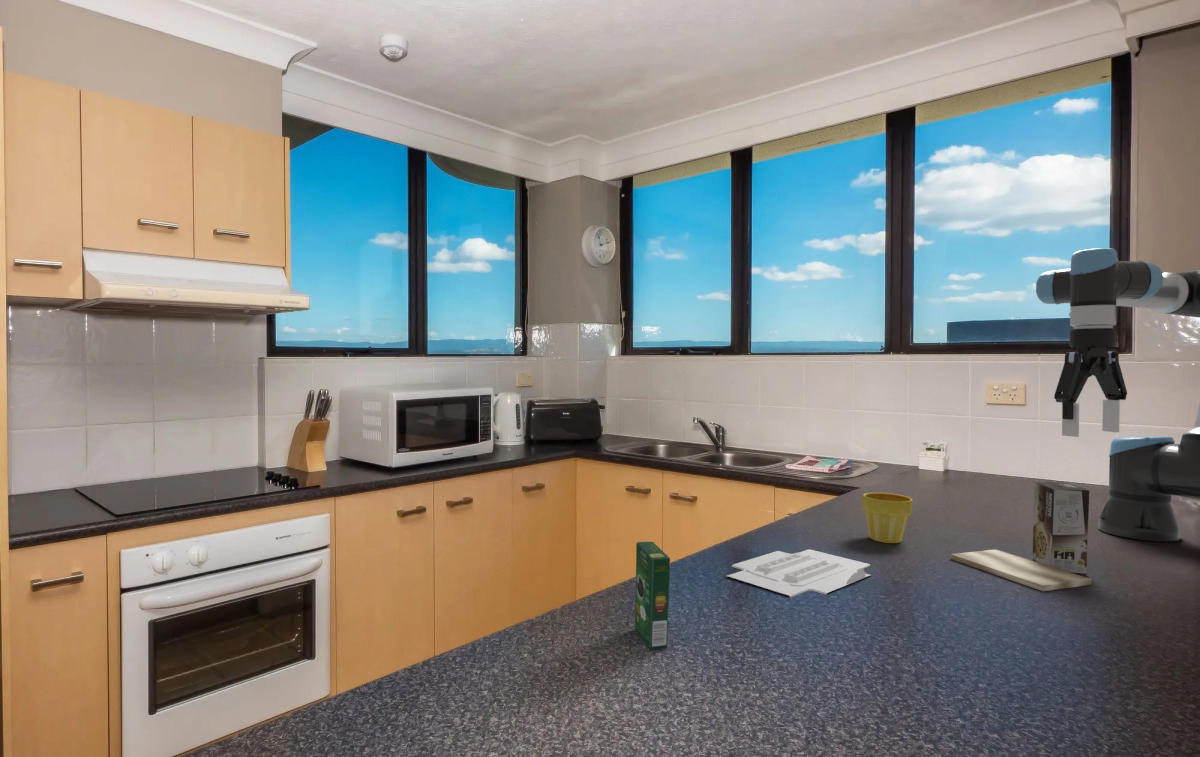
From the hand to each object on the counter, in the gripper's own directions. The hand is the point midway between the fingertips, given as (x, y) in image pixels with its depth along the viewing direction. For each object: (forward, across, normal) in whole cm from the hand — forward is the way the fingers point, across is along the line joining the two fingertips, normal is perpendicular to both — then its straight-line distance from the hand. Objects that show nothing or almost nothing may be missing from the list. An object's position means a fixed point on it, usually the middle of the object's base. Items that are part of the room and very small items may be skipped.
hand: (1090, 434), depth 136 cm
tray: (+25, +58, -19) cm, 66 cm away
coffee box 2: (+26, +8, -1) cm, 27 cm away
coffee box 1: (+24, +100, -3) cm, 102 cm away
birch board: (+26, +19, -2) cm, 32 cm away
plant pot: (+26, +24, -29) cm, 46 cm away
